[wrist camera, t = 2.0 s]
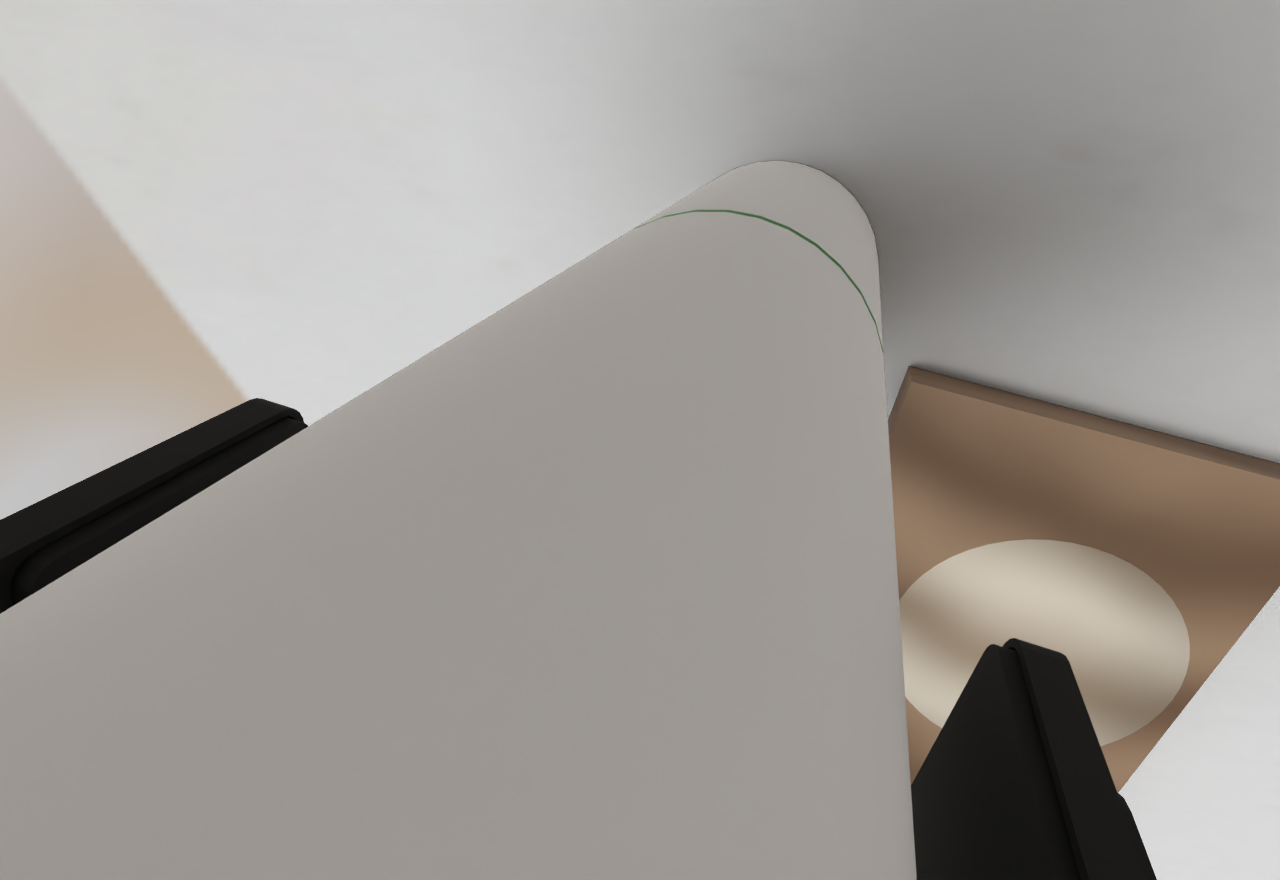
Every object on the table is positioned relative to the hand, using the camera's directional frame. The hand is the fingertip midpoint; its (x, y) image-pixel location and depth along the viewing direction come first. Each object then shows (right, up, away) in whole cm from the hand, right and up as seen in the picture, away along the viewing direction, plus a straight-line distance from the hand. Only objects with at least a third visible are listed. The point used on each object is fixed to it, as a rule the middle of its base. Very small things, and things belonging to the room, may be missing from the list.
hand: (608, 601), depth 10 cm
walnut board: (+14, -5, +19) cm, 24 cm away
